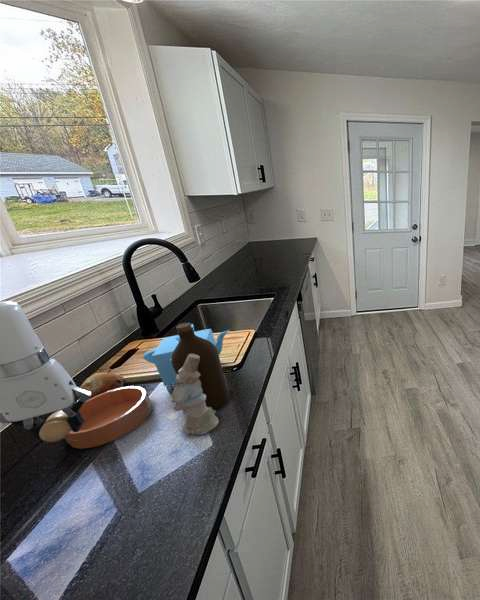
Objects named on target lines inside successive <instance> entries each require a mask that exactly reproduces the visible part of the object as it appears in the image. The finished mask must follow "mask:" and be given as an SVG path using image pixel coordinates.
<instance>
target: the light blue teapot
mask: <svg viewBox="0 0 480 600" xmlns="http://www.w3.org/2000/svg"><path fill="white" fill-rule="evenodd" d="M191 327H192V328H193V330H194V334H195V335H196V336H198V337H201V338H204V339H206V340H209V341H210V342H212V343H213V344H214V346H215V347H216V349H217V351H218V355H219V358H220V357H221V352H222V350H223V347H224V346H223V345H224V344H223V343H224V342H223V341H224V337H225V336H226V335H227V334H228V333H230V332H231V329H228V330H224V331H221V332H219V333H218V334H217V337H216V339H215V336H214V334H213V330H212V328H207V329H200V330H196V331H195V328H194V327H195V326H194V324H193V323H191ZM179 342H180V337H179V335H178V334H175V335H171V336H165V337H162V340H161V341H160V342H159V344H158V346H157V347H156V348H153V349H151V350H150V349H149V350H148V351H146V352H145V353H143V355H142V357H143V360H145V361H146V362H148V363H150V364H154V366H155V368H156V370H157V372H158V374H159V377H160V379H161V381H162V383H163V385H164V386H168V385H173V384H174V385H175V387H176V386H177V385H179V384H181V383H178V382H177V381H176V377H177V374H176V372H175V370H174V368H173V366H172V363H171V357H172V353H173V351H174V349H175V348H176V346H177V345H178V343H179Z"/></svg>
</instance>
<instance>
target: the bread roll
mask: <svg viewBox="0 0 480 600" xmlns="http://www.w3.org/2000/svg"><path fill="white" fill-rule="evenodd" d="M124 377H125V376H123V375H120V374H119V373H118V374H117V373H114V372H96V373H94V374H92V375H90V376H89V377H88V378H86V379H85V380H84V381H83V382H82V383H81V385H80V386H79V388H82V389H84V390H87V391H89V392H91V393H92V395H91V397H90V398H89V399H91V398H93V397H95V396H97V395H100V394H102V393H105V392H107V391H111V390H114V389H118V388H122V387H124V384H125V383H126V380H123V379H124ZM89 399H88V400H89Z"/></svg>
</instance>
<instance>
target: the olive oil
mask: <svg viewBox="0 0 480 600" xmlns="http://www.w3.org/2000/svg"><path fill="white" fill-rule="evenodd" d="M191 324H192V323H191V322H181V323H179V324H177V326H176V331H177V335H179V337H180V342H179V343H178V345H177V346H176V348H175V349H174V351H173V353H172V357H171V363H172V366H173V368H174V370H175V372H176V374H179V373H178V371H179V370H180V369H181V368H182V367H183V365H184V363H185V361H186V359H187V356H188V355H189V354H196V355H198V356H200V360H199V364H198V368H197V371H198V372H199V373H200V377H199V378H198V379H199V380H200V381H201V388H202V389H203V392H202V393H204V394H205V395H206V401H205V403H206V406H207V407H211V408H212V410H215V411H216V410H218V409H220V408H221V407H223V406H224V405H225V404H226V403H227V402H228V401H229V400H230V397H231V395H230V394H231V393H230V390H229V387H228V384H227V381H226V376H225V374H224V370H223V367H222V362H221V359H220V357H219V355H218V351H217V349H216V347H215V346H214V344H213V343H212V342H210V341H209V340H206V339H204V338H201V337H198V336H196V335H195V334H194V331H195V329H194V330H193V328H192V327H191ZM181 384H183V383H181Z"/></svg>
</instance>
